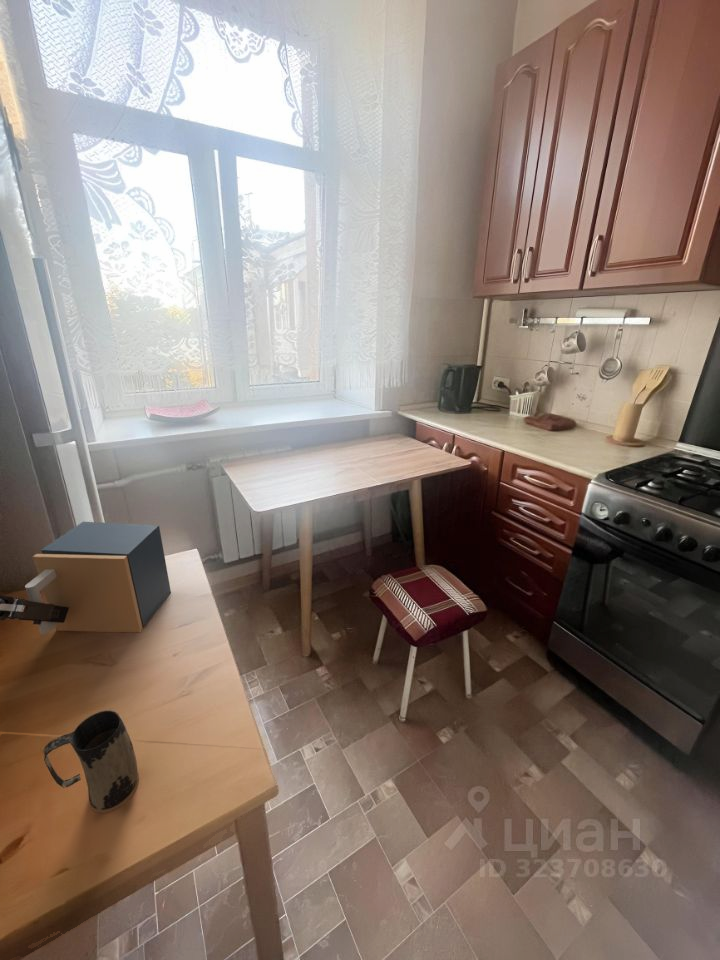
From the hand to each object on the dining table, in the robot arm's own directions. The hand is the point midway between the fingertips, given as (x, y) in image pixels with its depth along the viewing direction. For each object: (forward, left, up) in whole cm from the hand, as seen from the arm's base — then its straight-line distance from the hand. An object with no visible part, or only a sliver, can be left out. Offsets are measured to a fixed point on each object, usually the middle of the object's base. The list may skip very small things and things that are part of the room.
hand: (57, 614), depth 72 cm
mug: (+24, -25, -6) cm, 35 cm away
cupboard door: (+6, 0, -5) cm, 8 cm away
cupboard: (+5, +9, -5) cm, 12 cm away
